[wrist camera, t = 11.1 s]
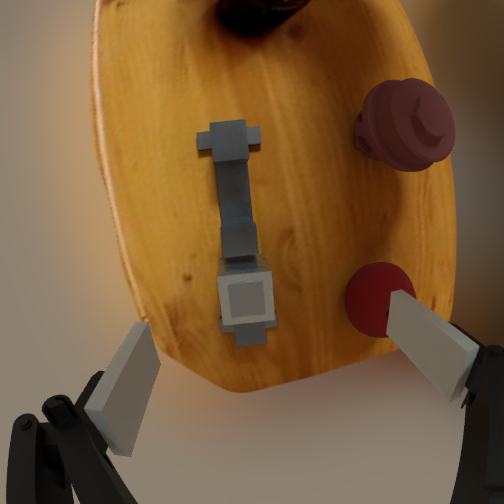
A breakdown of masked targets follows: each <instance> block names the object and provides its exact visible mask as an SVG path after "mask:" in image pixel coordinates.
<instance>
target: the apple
mask: <svg viewBox="0 0 504 504" xmlns="http://www.w3.org/2000/svg"><path fill="white" fill-rule="evenodd" d="M397 290H403V291H405V292H406V293H408V294H409V295H411V296H412V297H413V298H415V299H416V294H415V291H414V288H413V285H412V283H411V281H410V279H409V277H408V276H407V274H406V273H405V272H404V271H403V270H402V269H401V268H399V267H398V266H396V265H394V264H392V263H387V262H379V263H372V264H368V265H366V266H364V267H362V268H360V269H359V270H358V271H357V272H356V273H355V274H354V275H353V277H352V278H351V279H350V281H349V283H348V286H347V290H346V295H345V307H346V312H347V314H348V317H349V319H350V321H351V323H352V324H353V326H354V327H355V328H356V329H357V330H359V331H360V332H362V333H364V334H366V335H368V336H372V337H379V338H385V337H389V336H388V335H387V334H386V332H387V325H388V317H389V308H390V299H391V292H392V291H397ZM416 300H417V299H416Z"/></svg>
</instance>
